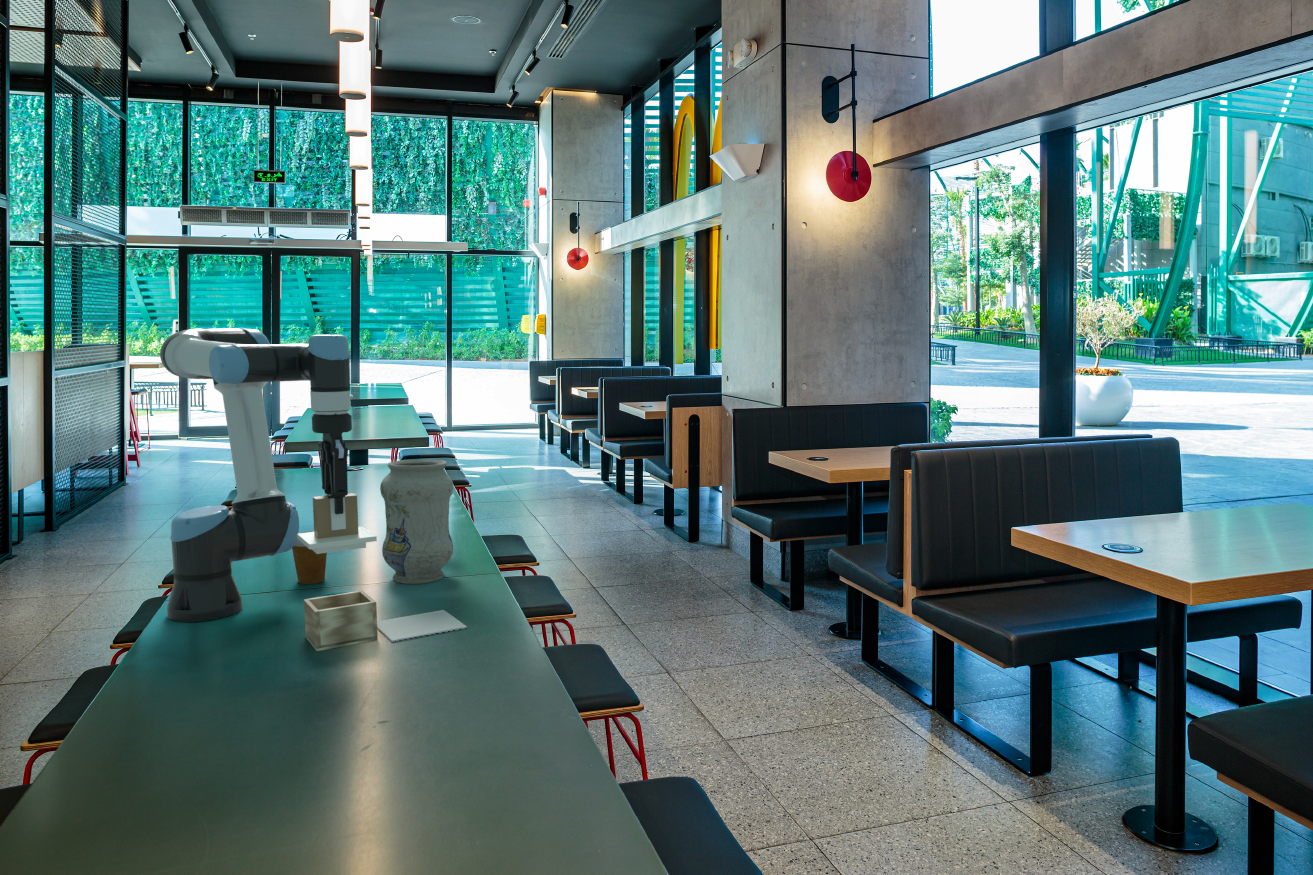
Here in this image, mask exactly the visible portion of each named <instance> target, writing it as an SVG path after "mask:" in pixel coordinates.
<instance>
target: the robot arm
mask: <svg viewBox="0 0 1313 875" xmlns="http://www.w3.org/2000/svg"><path fill="white" fill-rule="evenodd" d="M349 348H350V347H349V339H348V337H347V336H346V335H345V334H311V335H310V337H308V343H307V342H302V343H301V342H299V343H298V342H297V343H282V344H280V343H279V344H275V343H274V344H271V343H270V340H269V339H268V337H267V336H266V335H265V334H264V332H262V331H260V330H258V329H253V328H244V327H238V328H237V327H235V328H234V327H232V328H190V329H189V328H188V329H184V330H180V331H177V332H175V333H173V334H171V335H170V336H169V337H167V338H166V339H165V340H164V342H163V343H162V344H161V346H160V350H159V356H160V362H161V363H162V365H163V367H164V368H165V370H167V371H168V372H169V373H171V374H172V375H173V376H176V377H179V378H184V379H191V380H212V382H213V388H214V390H216V391H218V392H219V393H220V394H221V395H222V400H223V407H224V413H225V421H226V427H227V428H226V429H227V435H228V440H229V441H228V442H229V446H230V454H231V460H232V466H233V472H234V474H233V475H234V479H235V487H236V491H237V492H236V493H237V495H236V496H235V498H234V499H233V501H232V502H231V507H232V509H231V510H229V508H228V506H226V505H223V504H222V505H221V504H213V505H205V506H200V507H195V508H192V509H188V510H185V511H183V512H181V513H179V514H177V515H176V516H174V518H172V520H171V525H170V529H171V530H170V538H169V539H170V541H171V553H172V554H171V555H172V565H173V586H172V588H171V592H170V595H169V598H168V599H169V600H168V603H167V607H166V611H167V619H169V620H171V621H175V622H180V623H196V622H197V623H198V622H207V621H212V620H213V621H214V620H218V619H223V618H226V617H229V616H233V615H236V614H237V613H239V612H240V611H241V610H242V609H243V599H242V595H241V593H240V591H239V588H238V585H237V584H236V582H235V580H234V576H233V573H232V572H233V571H232V563H233V562H239V561H245V560H251V559H257V558H262V557H268V556H269V557H270V556H271V557H272V556H275V555H277V554H282V553H287V552H288V551H290V550H292V547H293V546H294V544H295V543H296V540H297V534H298V532H300V517H299V511H298V510H297V508H296V507H297V506H296V505H294V503H292V502H289V501H287V500H286V499H287V498H286V494H285V493H283V492H282V491H280V490H279V489H278V487H277V480H276V473H275V465H274V461H273V460H274V459H273V453H272V447H271V441H270V434H269V427H268V420H267V415H266V408H265V402H264V395H263V389H264V388H265V387H266V385H267V384H268V383H273V382H277V383H278V382H298V381H299V382H300V381H303V382H304V381H306V382H307V381H309V384H310V391H309V392H310V410H311V411H312V412H313V413H312V415H311V430H312V432H313V433H316V434H322V440H321V441H319V442H318V447H319V453H320V454H319V455H320V456H319V457H320V473H321V488H322V490H324V494H325V495H324V496H327V495H331V496H328V499H330V512H331V530H340V529H346V518H345V496H346V495H348V493H349V491H348V490H349V489H348V487H349V486H348V482H349V481H348V456H349V455H348V454H349V449H348V447H346V442H345V441H344V439H343V433H349V432H350V431H352V430H353V421H352V419H353V418H352V414H351V412H349V411H350V410H351V409H352V406H351V405H352V404H351V403H352V401H351V400H353V399H354V395H353V394H351V372H350V371H351V368H350V367H351V364H350V363H351V362H350V361H351V360H350V359H351V358H350V357H351V353H350V349H349Z"/></svg>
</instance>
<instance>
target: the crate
mask: <svg viewBox="0 0 1313 875" xmlns="http://www.w3.org/2000/svg"><path fill="white" fill-rule="evenodd" d="M303 613H304V617H303V618H304V634H305V639H306V640H307V641H308V642H309V643H310V645H311V646H312V647H313V648H314V650H315V651H316V652H319V651H325V650H331V649H336V648H341V647H347V646H354V645H356V644H357V645H358V644H364V643H370V642H376V641H379V640H378V639H379V638H378V632H379V631H378V629H377V621H378V613H377V601H376V600H375V599H374V598H372V597H371V596H370V595H369V594H367V592H365V591H364V590H363V589H362V590H356V591H351V592H344V593H338V594H331V595H325V596H324V595H323V596H316V597H311V598H304V599H303Z"/></svg>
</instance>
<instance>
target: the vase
mask: <svg viewBox="0 0 1313 875" xmlns="http://www.w3.org/2000/svg"><path fill="white" fill-rule="evenodd" d="M447 465H448V463H447V461H446V460H444V459H443V460H442V459H428V458H427V459H421V458H418V459H401V460H395V461H390V462H388V463H387V467H388V469H389V470H390V472H389V473H388V474H386V476H384V477H383V479H382V480H381V483H380V488H379V490H380V495H381V497H382V498H383V502H384V506H385V508H384V509H385V511H384V513H385V523H386V525H385V526H386V528H385V530H386V531H385V538H384V540H383V543H382V548H381V551H382V557H383V559H384V562H385V563H386V564H387V565H388V567H390V568H391V569H392V570H394V572H395V573H394V574H393V575H392V576H391V577H392V580H393V581H394V582H397V583H399V584H400V583H401V584H407V585H416V584H417V585H418V584H427V583H434V582H437V581H440V580H441V579H443V578H444V576H445V572H443V571H442V568H444V567H445V566H446V565H447V564H448V563H449V562H450V560H451V558H452V556H453V552H454V544H453V539H452V536H451V534H450V528H449V527H450V526H449V525H450V523H449V519H450V518H449V517H450V501H451V498H452V495H453V492H454V482H453V479H452V477H451V476H450V475H449V474H448V473H447V472H446V471H445V470H444V468H446V467H447Z"/></svg>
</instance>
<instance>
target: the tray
mask: <svg viewBox="0 0 1313 875" xmlns="http://www.w3.org/2000/svg"><path fill="white" fill-rule="evenodd" d="M465 628H466V629H467V628H468V626H467V625H465V624H464V623H463V622H462V621H460V620H459V619H457V618H456V617H454V616H453V615H452V614H451V613H449V612H448V611H446V610H444V609H441V610H434V611H428V612H424V613H417V614H412V615H405V616H399V617H395V618H390V619H389V618H388V619H383V620H377V630H378V629H379V630H380V631H381V632H382V633H383V636H385V637H386V638H387V639H388V640H389V641H390V642H391V643H394V642H395V641H396V642H400V641H399V640H402V641H405V640H404V639H407V640H410V639H409V638H413V639H415V638H414V637H418V636H423V637H425V636H424V635H429V636H431V635H430V634H434V635H436V634H435V633H439V634H443V633H442V632H445V633H448V631H450V632H454V631H453V630H455V631H460V630H459V629H461V630H465ZM379 630H378V631H379ZM380 631H379V632H380ZM381 632H380V633H381ZM382 633H381V634H382ZM418 638H419V637H418ZM396 642H395V643H396Z"/></svg>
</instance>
